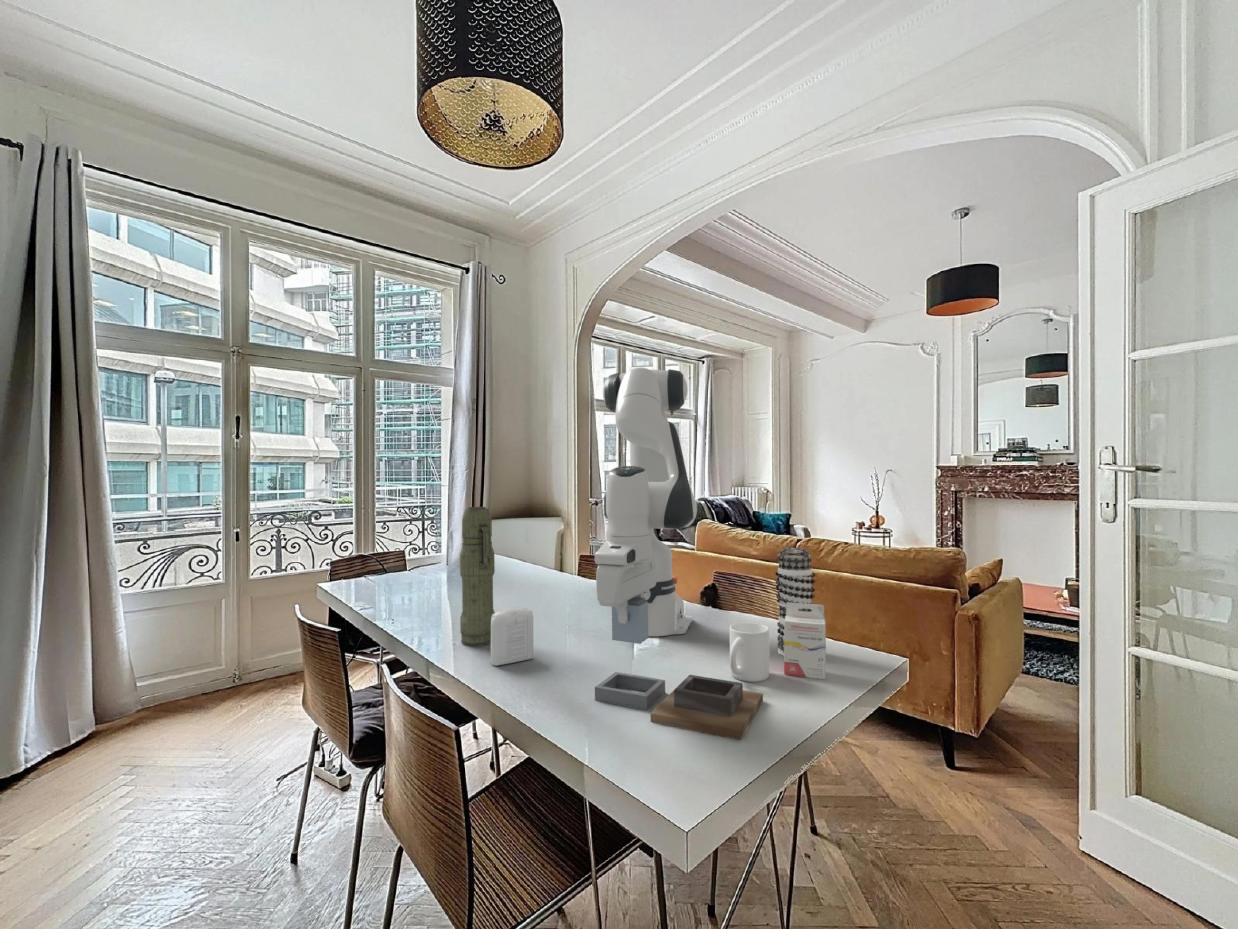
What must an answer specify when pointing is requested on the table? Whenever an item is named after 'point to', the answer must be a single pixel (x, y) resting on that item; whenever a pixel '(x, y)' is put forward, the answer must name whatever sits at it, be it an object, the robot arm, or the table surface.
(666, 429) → the robot arm
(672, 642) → the table surface
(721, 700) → the dock
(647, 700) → the grey rectangular frame
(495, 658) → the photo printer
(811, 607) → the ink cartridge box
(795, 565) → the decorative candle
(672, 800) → the table surface
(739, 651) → the mug
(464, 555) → the thermos
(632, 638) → the plug
